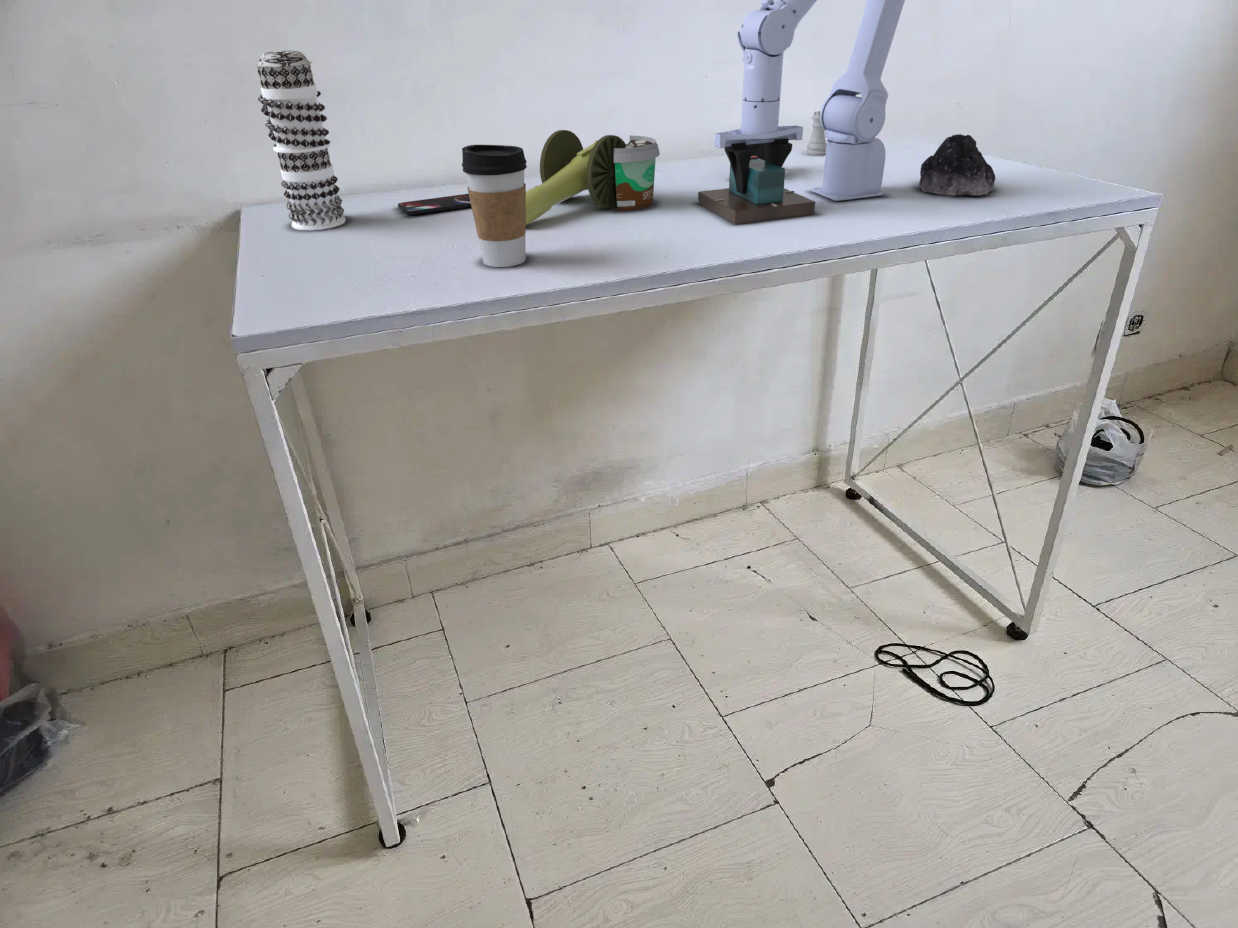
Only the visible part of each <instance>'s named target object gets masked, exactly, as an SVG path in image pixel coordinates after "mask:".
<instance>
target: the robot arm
mask: <svg viewBox="0 0 1238 928" xmlns="http://www.w3.org/2000/svg"><path fill="white" fill-rule="evenodd" d="M817 1H818V0H762V1H761V4H762V5H761V6H760V9H755V10H752V11H750V12H748V14H747V15H746V16H745V18H744V19H743V21H742V24H741V26H740V30H739V31H737V32H736V33H737V34H736V35H737V36H736V37H737V41H738V45H739V46H740V48H741V50H742V61H743V80H742V101H741V120H740V121H741V123H740V128H738V129H732V130H728V131H722V132H715V133H714V139H713V140H714V141H713V142H714V143H713V144H714V145H713V146H714V147H715V148H718V149H724V150H723V151H724V152H725V154H726V157H727V159H728V161H729V165H730V164H731V167H732V170H733V174H734V178H735V183H736V190H737V192H739V193H741V194H746V189H747V179H748V168H749V163H750V159H751V155H752V151H751V150H748V149H747V148H748V147H746V145H748V144H758V143H764V150H765V161H767V162H769V163H772V164H774V165H777V166H779V167H782V168H783V166H784V164H785V162H786V160H787V158H788V157H789V155H790V154H791V153H792V150H793V143H791V142H789V141H803V134H804V133H803V132H804V127H803V126H800V125H798V124H797V125H796V124H795V125H779V122H780V121H779V119H780V106H781V94H782V93H781V92H782V80H783V64H784V52H785V51H787V49H789V48H790V47H791V45H792V43H793V40H794V37H795V30H796V29H797V27H798V24H799V23H800V22H801V21H802V19H803V18H804V17H805V16H806V15H807V14H808V12H809V11H810V10H811V8H813V6H814V5H815V4H816V3H817ZM905 1H906V0H867V2H866V4H865V8H864V11H863V15H862V18H861V22H860V25H859V29H858V31H857V35H856V38H855V42H854V45H853V48H852V52H851V56H850V59H849V61H848V65H847V69H846V71H845V72H844V74H843V75H841V76H840V77H838V79H837V80H835V82H834V83H833V84H832V87H831V89H830V93H829V95H828V97H827V98H826V99H825V100H824V102H823V103H822V106H821V109H820V122H821V125H822V127H823V129H824V130H825V139H826V144H827V146H826V154H825V156H824V164H823V165H824V166H823V175H822V186H821V187H812V188H811V192H813V193H815V194H817V195H820V196H823V197H824V198H827V199H830V200H832V201H835V202H839V201H848V200H849V201H850V200H856V199H864V198H873V197H879V196H880V197H881V196H883V195H884V191H881V190H882V185H883V177H884V171H885V163H886V157H887V156H886V155H887V154H886V147H885V144H884V142H883V141H882V140H881V139H880V138H878V137H877V136H878V135H879V134H880V133H881V131H882V130H883V127H884V125H885V121H886V106H887V105H886V104H887V101H888V98H889V92H888V91H887V89H886V87H885V85H884V84H883V81H882V80H881V78H882V76H883V72H884V70H885V69H884V68H885V66H886V63H887V59H888V56H889V53H890V49H891V46H892V43H893V40H894V37H895V33H896V30H897V27H898V24H899V21H900V19H901V18H900V17H901V14H902V11H903V8H904V5H905ZM857 95H861V96H857ZM751 139H756V140H751Z"/></svg>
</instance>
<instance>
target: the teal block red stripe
mask: <svg viewBox="0 0 1238 928" xmlns="http://www.w3.org/2000/svg"><path fill="white" fill-rule="evenodd" d="M785 180H786V168H784V167H783V166H782V167H779V166H777V165H774V164H772V163H769V162H767V161H764V160H761V159H759V158H758V157H757V156H751V159H750V163H749V168H748V179H747V189H746V194H741V193H739V192H737V190H736V183H735V178H734V174H733V170H732V167H731V164H730V163H729V180H728V181H729V182H728V188H729V191H730V192H732V193H734V194H736V195H738V196H740V197H743V198H745V199H747V200H749V201H751V202H753V203H755V204H757V205H759V204H767V203H775V202H783V194H784V188H785Z"/></svg>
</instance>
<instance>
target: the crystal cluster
mask: <svg viewBox="0 0 1238 928" xmlns="http://www.w3.org/2000/svg"><path fill="white" fill-rule="evenodd" d="M919 175H920V177H919V181H918V186H919V187H920V190H921V191H922V192H924V193H929V194H936V195H942V196H954V197H955V196H986V195H988V193H990V192H992V191H994V189H995V181H996V179H997V178H996V174H995V171H994V169H993V167H992V165H990V164H989V163H987V161H986V159H985V157H984V156H983V154H982V152H981V151H980V150H979V147H977V141H976V140H975V139H974V137H973V136H972V135H971V134H966V135H965V134H962V133H958V134H952V135H951V136H947V137H946V138H945V139H944V140H943V141H942V143H941V144H939V147H937V149H936V150H935V152H934V153H933V154H932V155H930V156H929V157H927V158H926V159H925V160H924V161H923V162H922V163H921V166H920V171H919Z"/></svg>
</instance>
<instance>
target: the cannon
mask: <svg viewBox="0 0 1238 928" xmlns="http://www.w3.org/2000/svg"><path fill="white" fill-rule="evenodd" d="M624 144H626V142H625V141H624V140H623V138H621V137H620V136H619V135H615V134H614V135H613V134H606V135H604V136H602V137H600V138H599V139H598V140H595V141H594V142H593V143H592V144H590V145H589V146H587V147H585V148H584V147H583V144H582V142H581V139H580V138H579V137H578V135H576V133H575V132H573V131H571V130H567V129H558V130H556V131H554V132H553V133H551V134H550V135H549V136H548V138H547V139H546V140H545V143H544V145H543V147H542V150H541V153H540V160H539V175H540V181H541V183H540V184H539V185H534V186H533V187H531V188H529V189H528V190H526V226H528V225H529V224H530V223H532V222H534V221H536V220H537V219H538V218H540V217H542V216H543V215H545V214H546V213H549V211H551V209H552V208H553V207H555V206H557V205H559V204H561V203H563V202H564V201H565V202H566V201H568V200H570V199H572V198H573V197H574V196H576V195H578V194H580V193H582V192H584V191H588V193H589V196H590V199H591V200H592V202H593V203H594V204H595V205H596V206H597V207H600V208H604V209H613V208H616V207H617V195H616V176H615V163H614V148H622V146H623V145H624Z"/></svg>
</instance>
